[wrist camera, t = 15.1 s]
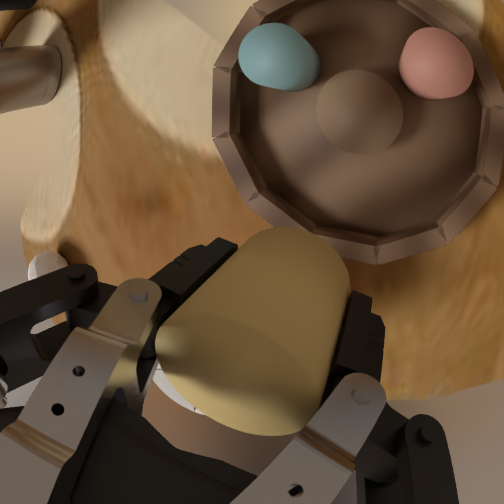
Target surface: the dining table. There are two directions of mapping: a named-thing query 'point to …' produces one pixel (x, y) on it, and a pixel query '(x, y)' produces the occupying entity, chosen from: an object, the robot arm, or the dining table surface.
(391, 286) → the dining table surface
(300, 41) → the pale blue rounded piece
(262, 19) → the walnut tray
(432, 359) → the dining table surface
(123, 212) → the dining table surface
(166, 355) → the ochre bead
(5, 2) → the travel mug
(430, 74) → the pink rounded piece
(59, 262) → the geometric ball
